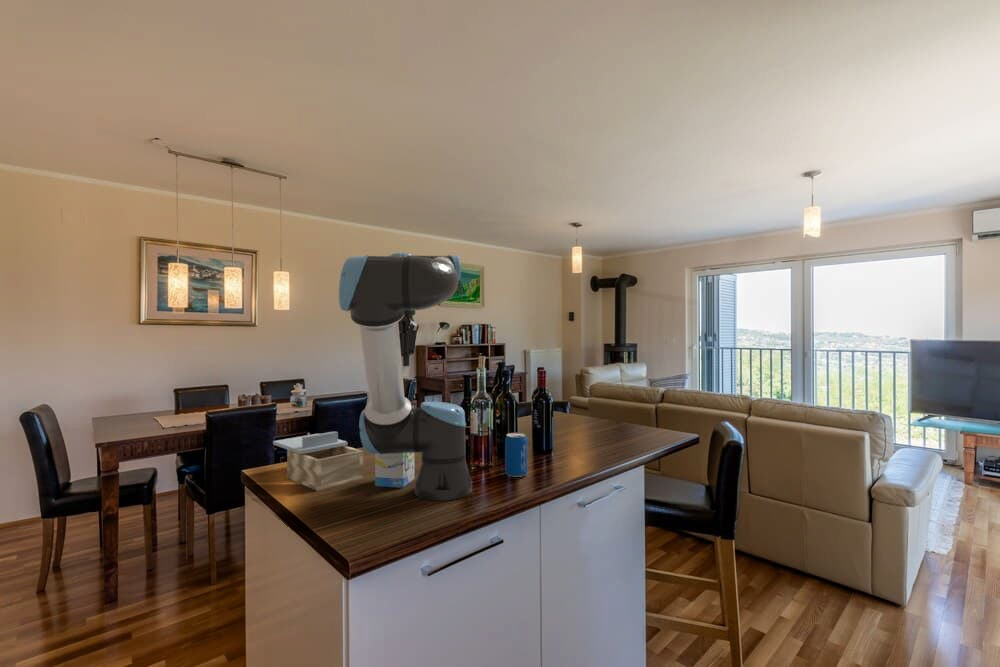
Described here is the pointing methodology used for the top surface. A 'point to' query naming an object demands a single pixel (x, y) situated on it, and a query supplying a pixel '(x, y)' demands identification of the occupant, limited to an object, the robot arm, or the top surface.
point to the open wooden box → (325, 467)
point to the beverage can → (516, 454)
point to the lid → (311, 442)
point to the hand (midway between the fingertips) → (403, 376)
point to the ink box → (394, 469)
